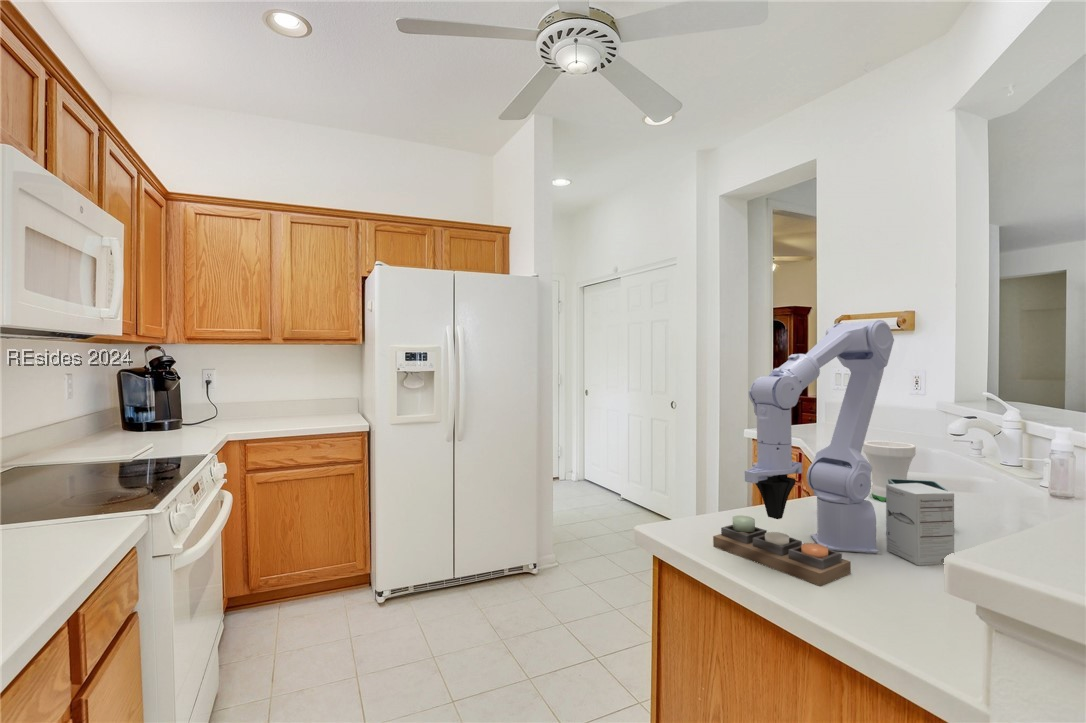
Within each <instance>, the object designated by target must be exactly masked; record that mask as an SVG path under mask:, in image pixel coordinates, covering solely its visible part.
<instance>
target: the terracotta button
mask: <svg viewBox="0 0 1086 723" xmlns="http://www.w3.org/2000/svg"><path fill="white" fill-rule="evenodd" d="M801 552H802V553H804V554H807V555H811V556H814V557H817V558H820V559H821V558H824V557H826V556H828V548H827V547H825V546H823V545H820V544H817V543H816V542H815V543H814V542H805V543H802V545H801Z"/></svg>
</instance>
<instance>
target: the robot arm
mask: <svg viewBox="0 0 1086 723" xmlns="http://www.w3.org/2000/svg"><path fill="white" fill-rule="evenodd" d="M894 342H895V339H894V335H893V332H892V330H891V327H890V326H889V324H888V322H886V321H884V320H882V319H876V320H871V321H861V322H848V323H843V322H837V323H835V324H833V325H832V326H831V327H830V328H828V329H826V331H825V336H824V337H822V338H821V340H819V341H818V342H817V343H816V344H815V345H814V346H813V347H812V348H811V349H810V350H808V351H807V352H806V353H794V354H793V353H792V354H790V355H789V356H788V357H787V359H788V360H786V362H784V363H783V364H781V365H780V366H779V367H774V368H773V369H772V371H771V373H770V374H768V375H767V376H766V375H765V376H764V375H762V376H759V377H757V378H756V379H755V380H754V381H753V382H752V384H751V385H750V390H749V391H748V396H749V397H748V398H749V399H750V402H751V403H752V406H753V413H754V414H755V415H754V416H756V455H757V456H756V460H757V461H756V462H754V463H752V467H751V468H749V469H746V470H744V482H745V483H750V484H753V485H754V484H755V485H756V487H757V489H758V491H759V493H760V495H761V497H762V500H763V504H764V507H765V511H766V514H767V517H768V518H771V519H775V520H780V519H783V516H784V513H785V509H786V506H787V502H788V499H789V496H790V494H791V492H792V489H793V488H794V486H795V485H796V478H795V477H794V478H793V477H788V475H789V476H790V475H792V474H799V475H800V474H802V473H803V462H798V461H792V460H793V455H792V452H793V451H792V450H793V449H792V444H793V443H792V408H794V407H795V406H797V404H798V402H799V399H800V395H801V394H802V393H803V391H804V390H805V389H806V388H807V387H808V386H809V385H811V384H812V383H813V382H814V381H815V380H817V379H818V378H819V376H820V374H821V372H820V371H821V369H820V368H822V367H824V366H825V365H827V364H828V363H830V362H831V361H832V360H834V359H835V358H837V360H838V361H839V362H840V364H841V365H842V366H843V368H844V367H845V368H847V369H848V370H849V372H850V375H849V378H848V382H847V385H846V388H845V393H844V396H843V399H842V402H841V407H840V410H839V413H838V416H837V420H836V424H835V426H834V429H833V433H832V437H831V440H830V444H829V445H828V446H826V447H824V448H822V449H820V450H819V451H817V452H816V453H815V456H814V459H813V461H812V463H811V464H810V465H809V466H808V469H807V472H806V481H807V482H806V483H807V485H808V486H809V488H810V489H811V490H812V491H813V496H815V497H816V517H817V519H816V520H817V521H816V522H817V523H816V524H817V526H816V527H817V528H816V529H817V533H811V534H810V537H811V538H812V540H814V541H815V544H820V545H823V546H825V547H827V548H828V549H829V550H832V551H836V552H852V553H853V552H855V553H867V554H870V553H871V554H878V553H879V550H878V549H877V517H876V516H877V515H876V510H875V507H874V505H873V503H872V502H871V501H870V500H866V499H867V497H868V496H869V494H870V492H871V490H872V480H871V478H872V472H871V471H872V466H871V465H870V464H869V461H868V459H867V458H866V457H865V456H863V455H862V451H863V444H864V442H865V440H866V436H867V433H868V429H869V425H870V422H871V418H872V414H873V410H874V407H875V404H876V400H877V396H878V393H879V389H880V386H881V383H882V379H883V375H884V370H885V368H886V367H887V366H888V364H889V360H890V356H891V352H892V349H893V346H894ZM843 465H844V466H843Z"/></svg>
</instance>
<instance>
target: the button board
mask: <svg viewBox="0 0 1086 723" xmlns="http://www.w3.org/2000/svg"><path fill="white" fill-rule="evenodd" d="M720 529H721V531H720V533H719V534H716V535H713V536H712V538H713V540H712V544H713V547H714V548H716V549H719V550H721V551H725V552H728V553H729V554H733V555H736V556H738V557H740V558H744V559H746V560H749V561H751V560H752V561H751V562H754V561H755V562H754V563H757V562H758V563H757V564H759V563H760V564H759V565H762V564H763V566H765V565H766V566H765V567H767V566H768V568H770V567H771V569H773V568H774V569H773V570H776V571H778V572H780V573H781V572H782V573H784V574H786V575H789V576H792V577H794V576H795V578H797V579H800V580H802V579H803V581H805V580H806V582H808V581H809V583H810V582H812V583H811V584H813V583H814V584H813V585H816V584H817V585H816V586H818V585H819V587H821V585H822V586H824V585H826V583H827V584H828V583H831V582H833V580H834V581H835V579H836V580H839V579H841V578H843V577H845V575H846V576H848V575H851V574H852V572H851V571H852V569H851V567H852V565H851V560H848V559H844V558H843V554H842V553H841V552H840V551H837V550H829V549H828V556H826V557H824V558H821V559H820V558H817V557H814V556H811V555H807V554H804V553H802V552H801V545H802V544H803V543H802V540H800V539H796V538H793V537H790V536H789V543H788V544H785V545H782V546H780V545H777V544H774V543H771V542H768V541H765V533H767V532H768V530H767V529H763V528H761V527H757V526H755V531H754V532H739V531H736V530H734V529H733V524H730V525H727V526H722V527H721V528H720ZM840 577H841V578H840Z"/></svg>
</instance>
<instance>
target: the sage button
mask: <svg viewBox="0 0 1086 723" xmlns="http://www.w3.org/2000/svg"><path fill="white" fill-rule="evenodd" d="M732 525H733V529H734V530H736V531H739V532H754V531H755V527H756V519H755V518H754V517H751V516H750V515H749V516H748V515H734V516H732Z"/></svg>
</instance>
